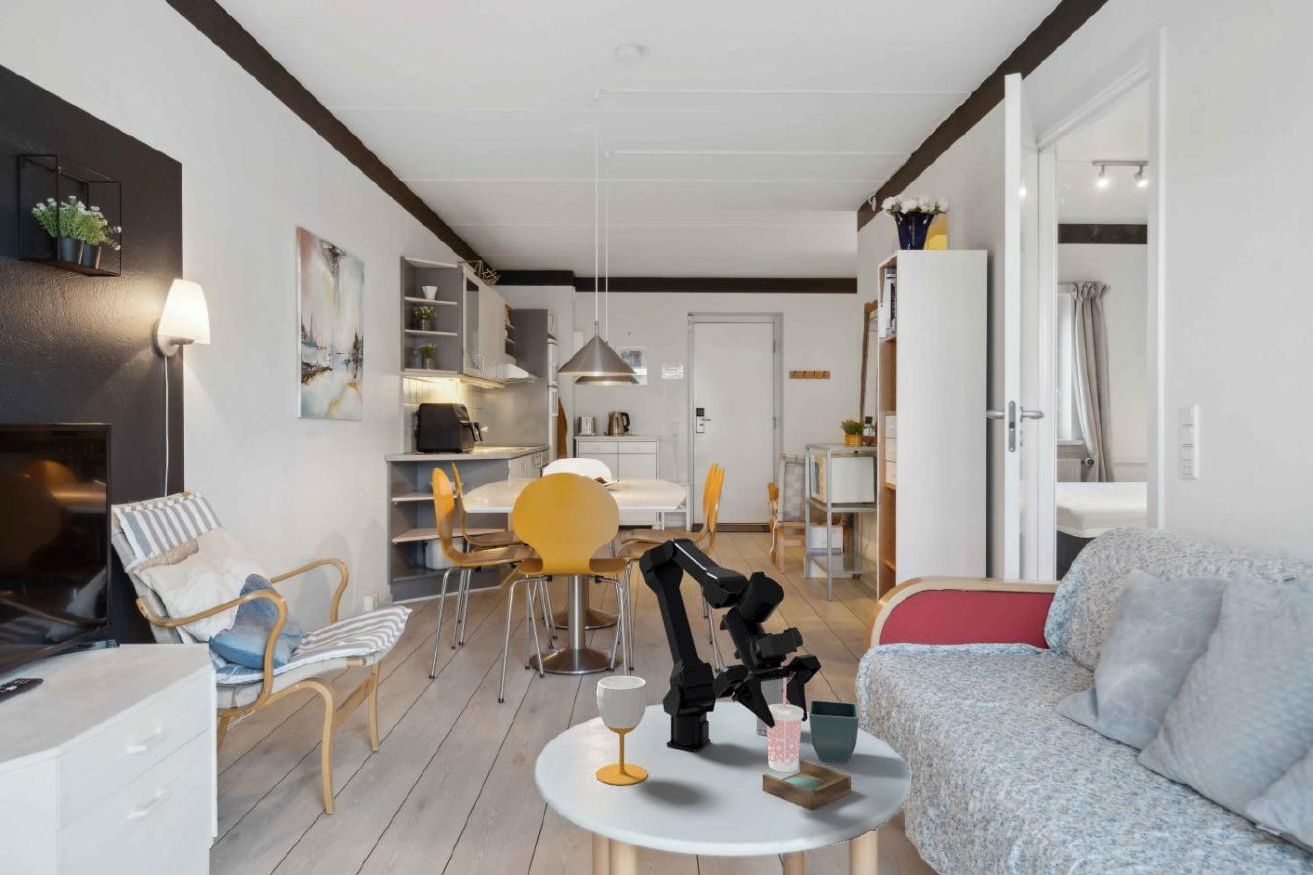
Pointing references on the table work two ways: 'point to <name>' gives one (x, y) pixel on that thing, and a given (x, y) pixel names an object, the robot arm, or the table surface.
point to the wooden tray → (809, 785)
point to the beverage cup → (784, 735)
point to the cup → (622, 722)
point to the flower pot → (833, 729)
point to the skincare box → (770, 699)
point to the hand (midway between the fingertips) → (789, 723)
